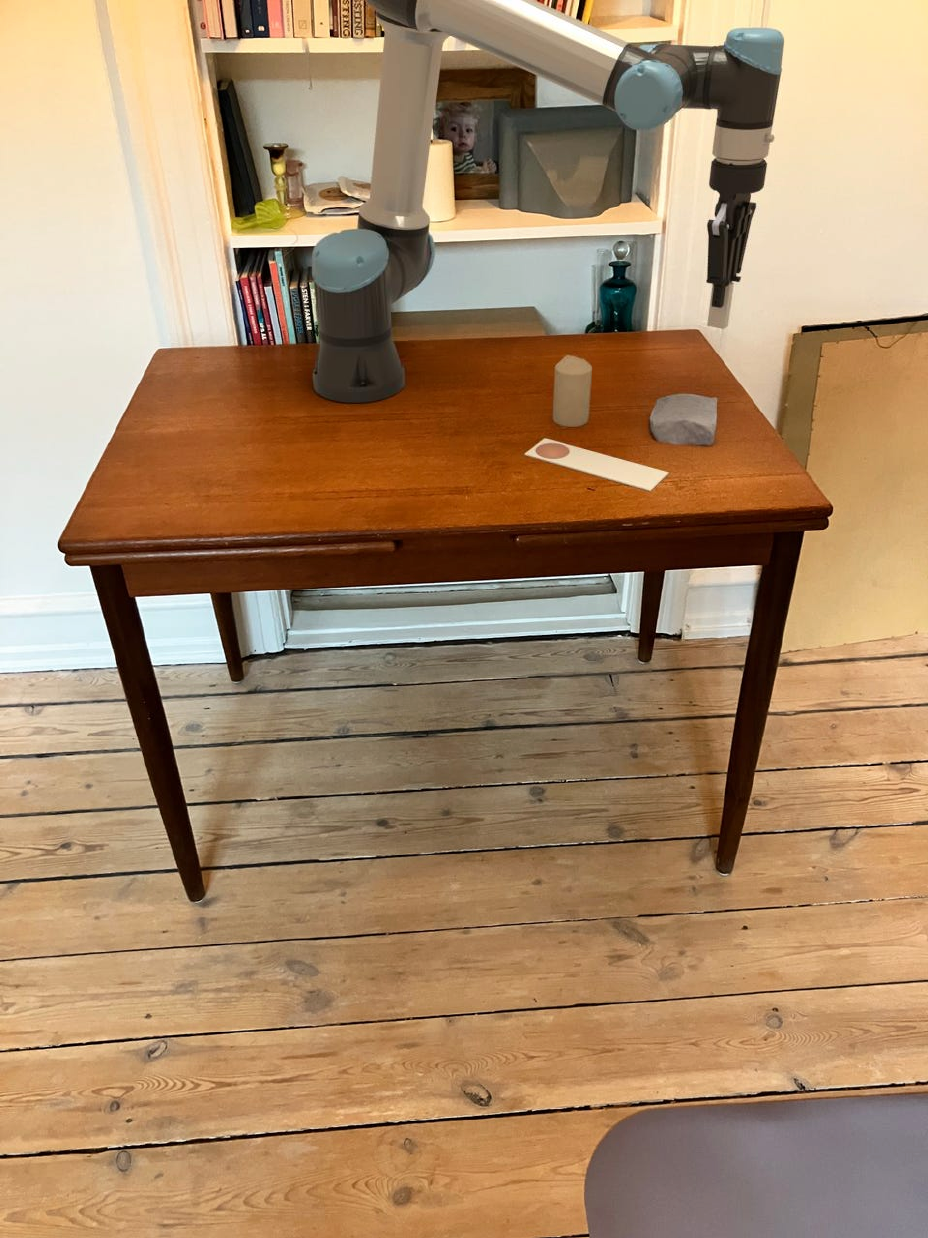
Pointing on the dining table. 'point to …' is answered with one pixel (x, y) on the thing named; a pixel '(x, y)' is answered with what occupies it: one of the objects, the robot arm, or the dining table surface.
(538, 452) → the test strip
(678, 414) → the stone block
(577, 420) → the candle
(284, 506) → the dining table surface
